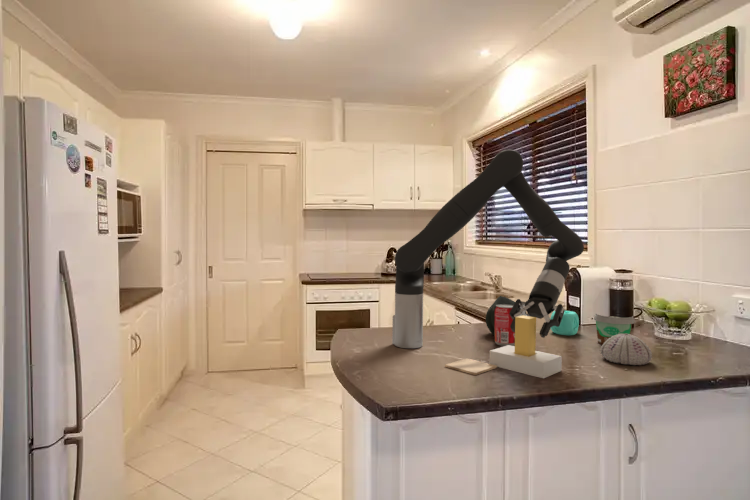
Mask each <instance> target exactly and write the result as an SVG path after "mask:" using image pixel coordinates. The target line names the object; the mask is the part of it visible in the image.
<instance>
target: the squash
mask: <svg viewBox="0 0 750 500" xmlns="http://www.w3.org/2000/svg"><path fill="white" fill-rule="evenodd" d="M515 302H516V301H515V300H512V299H511V298H508V297H506V296H502V295H499V296H498V297H497V298H496V299H495V301H493V303H492V304H491V305H490V306H489V308H488V310H487V311H486V314H485V323H486V327H487V328H488V330H489V332H490V333H491V334H492V335H493V336H495V309H496V307H497V306H496V305H500V304H507V305H514V304H515ZM525 314H527V311H526V312H525ZM521 316H522V315H521Z"/></svg>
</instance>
